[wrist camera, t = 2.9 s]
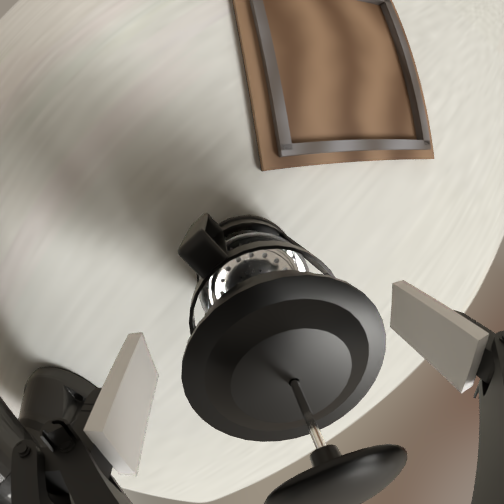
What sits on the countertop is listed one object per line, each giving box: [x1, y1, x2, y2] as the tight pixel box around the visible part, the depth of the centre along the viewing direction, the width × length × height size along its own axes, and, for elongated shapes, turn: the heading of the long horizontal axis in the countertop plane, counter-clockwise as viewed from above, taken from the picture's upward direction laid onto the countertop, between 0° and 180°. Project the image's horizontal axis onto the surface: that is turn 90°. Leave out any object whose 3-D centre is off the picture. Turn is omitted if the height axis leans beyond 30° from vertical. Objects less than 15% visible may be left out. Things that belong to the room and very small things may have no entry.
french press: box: [178, 213, 407, 504], centre depth 16 cm, size 12×9×23 cm
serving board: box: [232, 0, 434, 171], centre depth 22 cm, size 20×22×2 cm
